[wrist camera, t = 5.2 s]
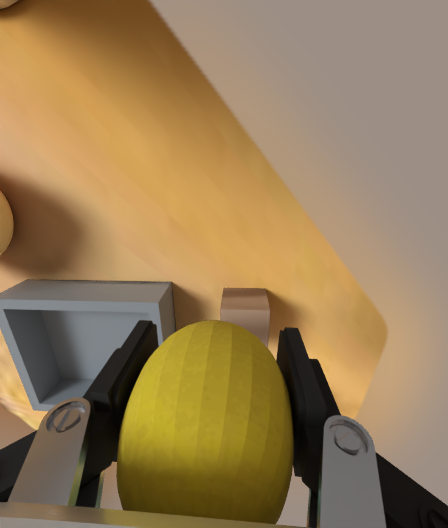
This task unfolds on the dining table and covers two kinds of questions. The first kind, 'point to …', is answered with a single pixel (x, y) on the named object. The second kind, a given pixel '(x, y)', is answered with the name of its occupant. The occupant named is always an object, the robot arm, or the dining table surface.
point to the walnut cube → (247, 310)
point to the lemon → (208, 429)
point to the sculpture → (5, 223)
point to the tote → (75, 330)
